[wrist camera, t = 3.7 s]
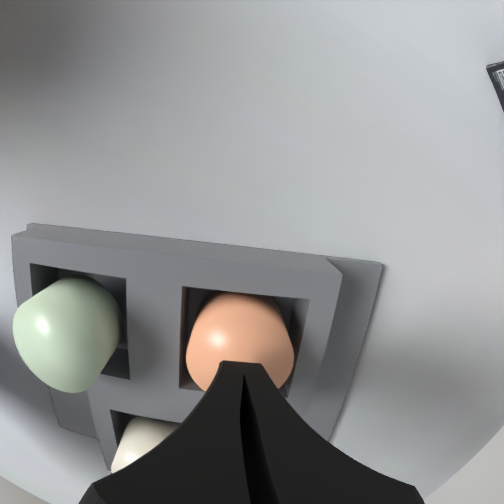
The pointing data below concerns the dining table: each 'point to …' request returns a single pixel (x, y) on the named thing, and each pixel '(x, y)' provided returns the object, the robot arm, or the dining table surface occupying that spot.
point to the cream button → (140, 439)
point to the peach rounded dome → (239, 336)
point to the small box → (497, 79)
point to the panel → (184, 314)
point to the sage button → (68, 332)
